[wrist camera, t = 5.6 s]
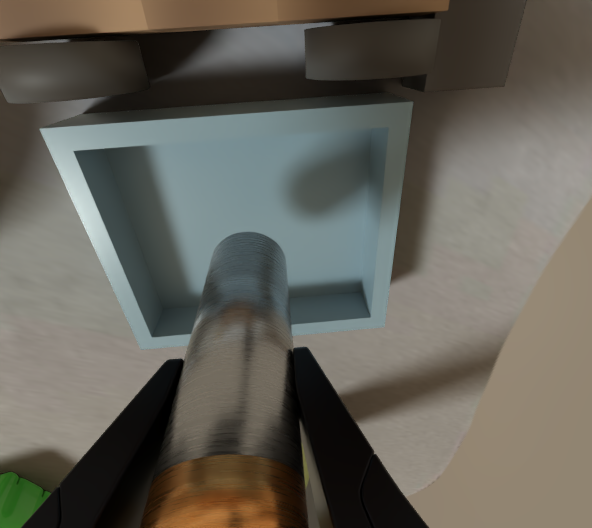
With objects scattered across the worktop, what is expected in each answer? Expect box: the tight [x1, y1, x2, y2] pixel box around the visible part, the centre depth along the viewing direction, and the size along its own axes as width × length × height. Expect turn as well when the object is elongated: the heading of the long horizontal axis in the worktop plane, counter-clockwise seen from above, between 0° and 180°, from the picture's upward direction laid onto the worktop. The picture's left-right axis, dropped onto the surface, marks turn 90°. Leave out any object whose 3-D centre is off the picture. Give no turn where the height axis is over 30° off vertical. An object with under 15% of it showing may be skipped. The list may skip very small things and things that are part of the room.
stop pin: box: [140, 232, 309, 528], centre depth 9 cm, size 3×3×10 cm
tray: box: [40, 92, 413, 350], centre depth 16 cm, size 13×11×3 cm
